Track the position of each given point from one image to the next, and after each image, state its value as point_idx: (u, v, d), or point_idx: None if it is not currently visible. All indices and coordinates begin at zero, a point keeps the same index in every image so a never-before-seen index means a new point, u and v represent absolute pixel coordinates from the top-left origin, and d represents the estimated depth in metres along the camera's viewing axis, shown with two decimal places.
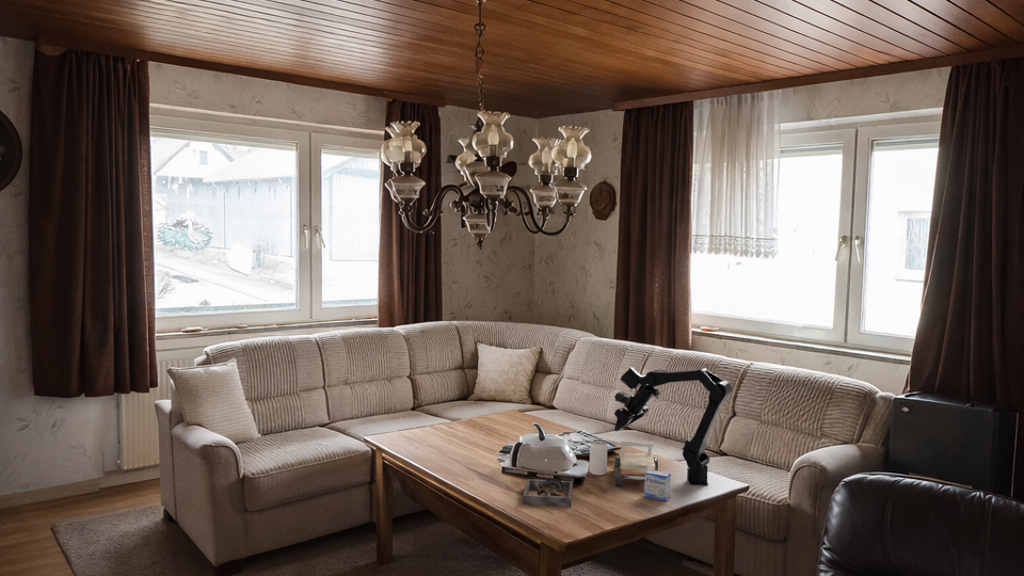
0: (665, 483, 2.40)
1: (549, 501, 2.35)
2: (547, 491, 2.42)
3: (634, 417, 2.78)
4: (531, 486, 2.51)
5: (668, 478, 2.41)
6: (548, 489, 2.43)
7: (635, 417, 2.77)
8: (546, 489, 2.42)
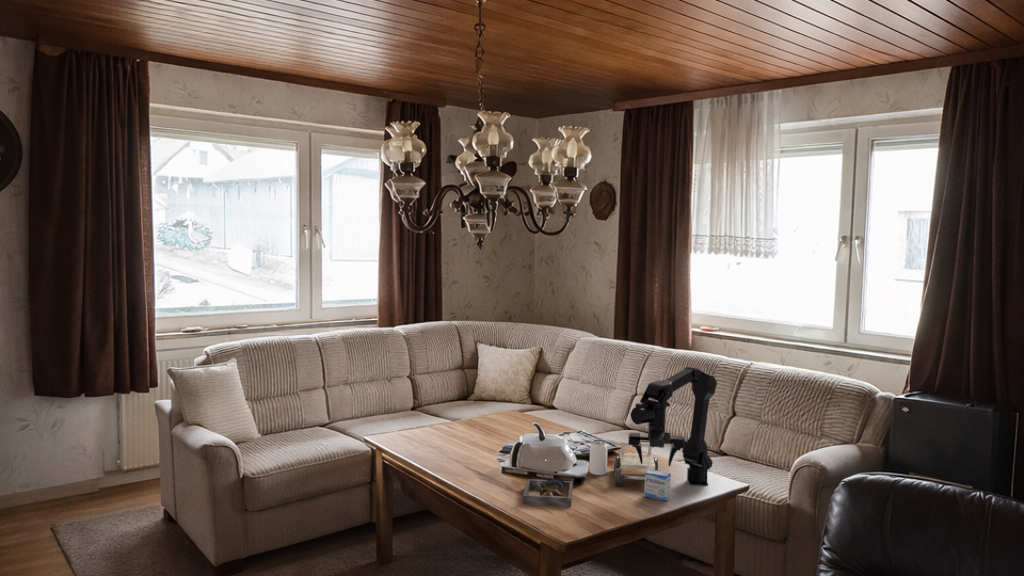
0: (665, 483, 2.40)
1: (549, 501, 2.35)
2: (549, 491, 2.43)
3: (641, 449, 2.45)
4: (531, 486, 2.51)
5: (668, 478, 2.41)
6: (550, 489, 2.43)
7: None
8: (548, 489, 2.43)
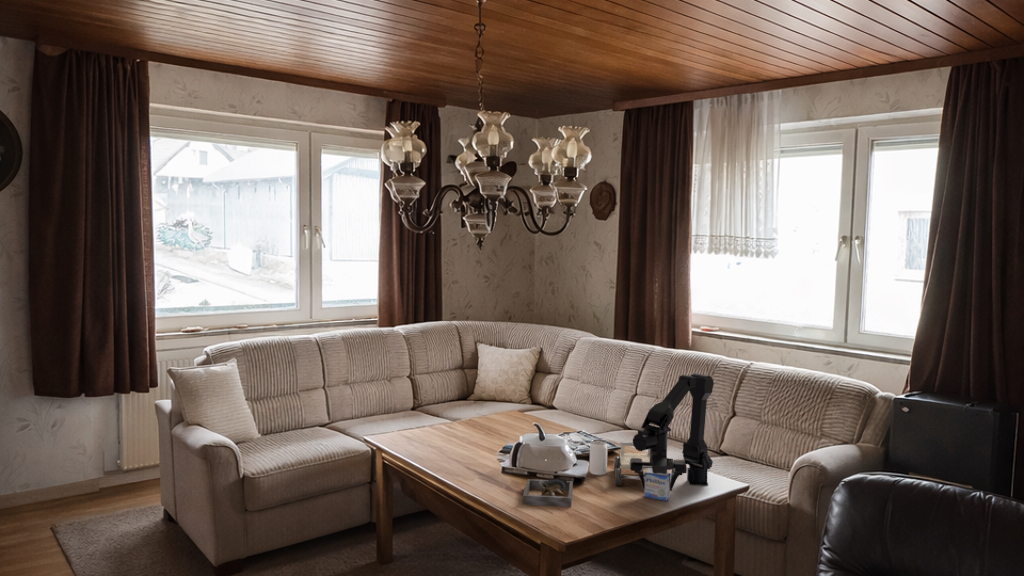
0: (665, 483, 2.40)
1: (549, 501, 2.35)
2: (551, 490, 2.43)
3: None
4: (531, 486, 2.51)
5: (668, 478, 2.41)
6: (552, 488, 2.44)
7: None
8: (550, 488, 2.43)
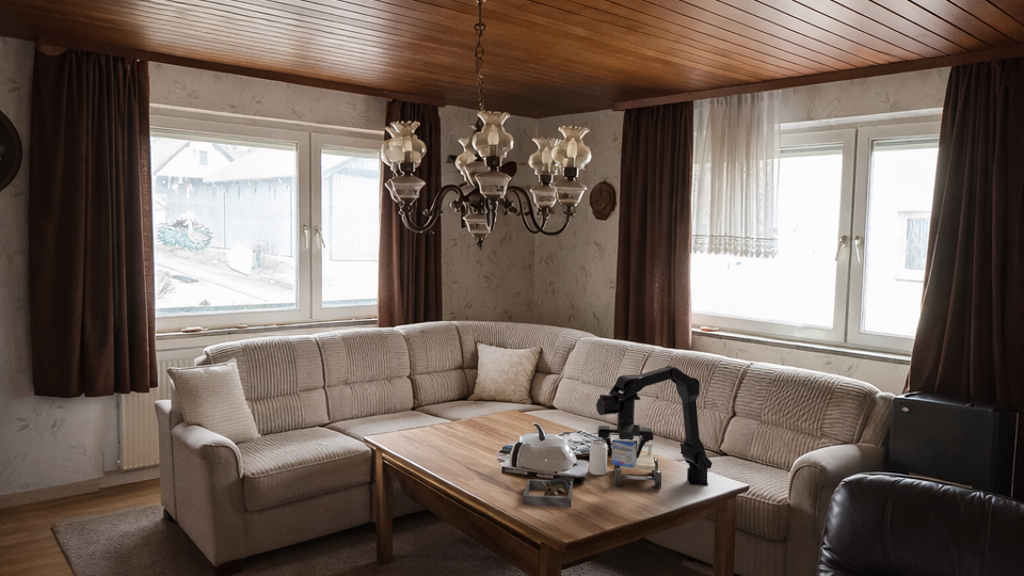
0: (632, 450, 2.42)
1: (549, 501, 2.35)
2: (554, 489, 2.44)
3: None
4: (531, 486, 2.51)
5: (635, 445, 2.44)
6: (555, 487, 2.44)
7: None
8: (553, 487, 2.44)
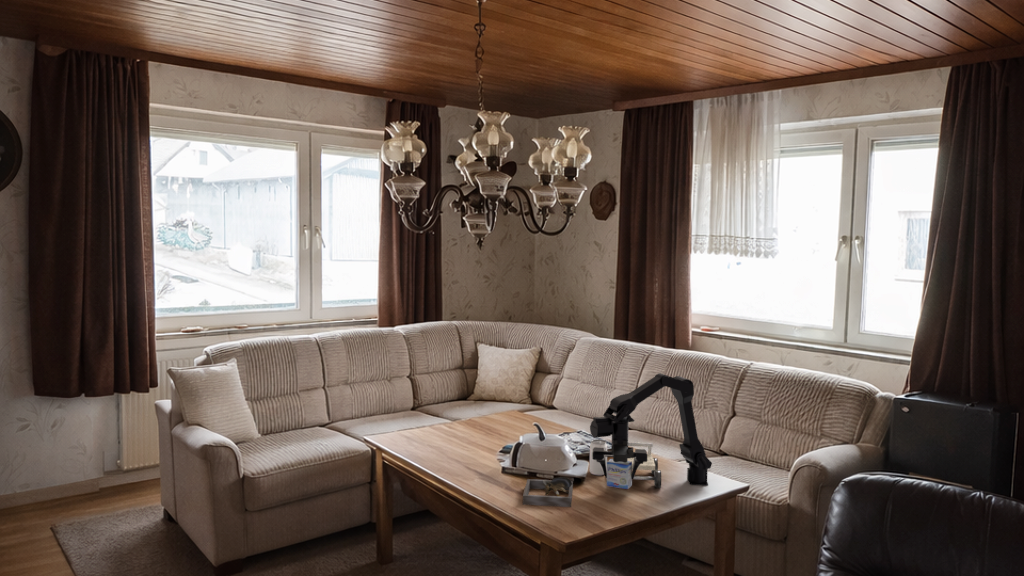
0: (626, 471, 2.44)
1: (549, 501, 2.35)
2: (555, 489, 2.44)
3: (605, 463, 2.49)
4: (531, 486, 2.51)
5: (629, 466, 2.45)
6: (556, 487, 2.45)
7: (605, 462, 2.49)
8: (554, 487, 2.45)
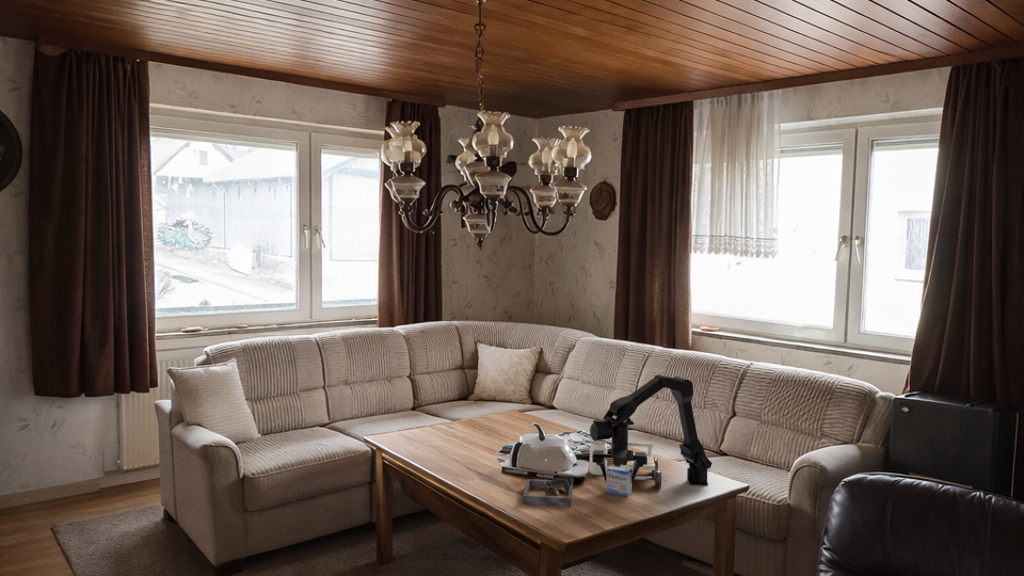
0: (626, 479, 2.44)
1: (549, 501, 2.35)
2: (555, 489, 2.45)
3: None
4: (531, 486, 2.51)
5: (629, 474, 2.45)
6: (556, 487, 2.45)
7: None
8: (554, 487, 2.45)
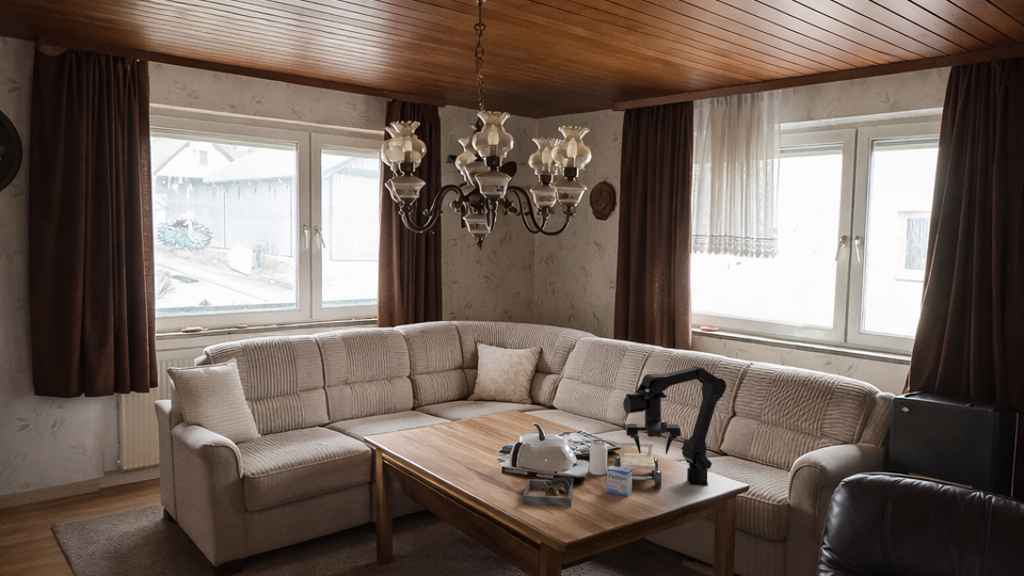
0: (627, 479, 2.44)
1: (549, 501, 2.35)
2: (555, 488, 2.45)
3: None
4: (531, 486, 2.51)
5: (630, 474, 2.45)
6: (556, 486, 2.45)
7: None
8: (554, 486, 2.45)
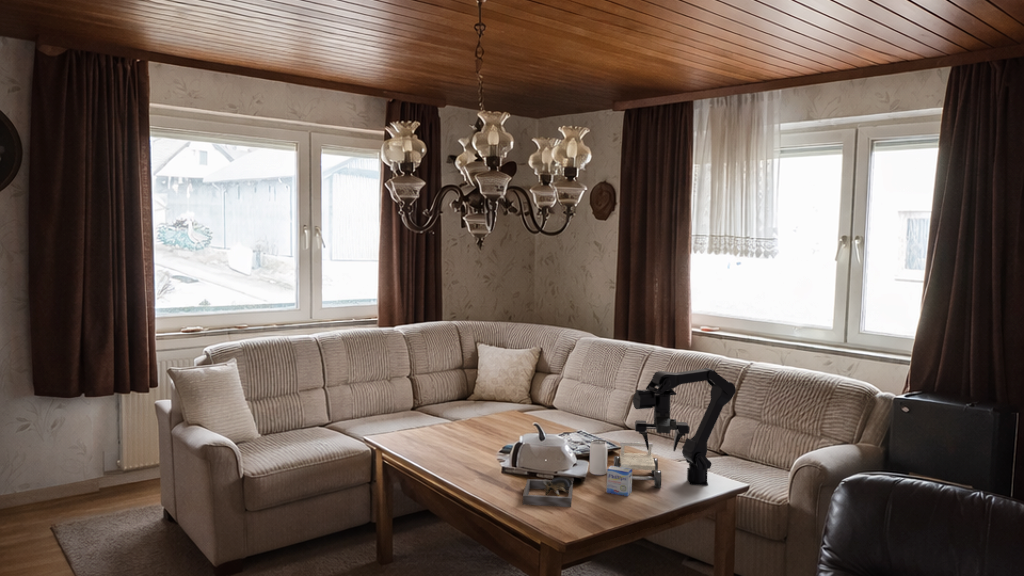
0: (627, 479, 2.44)
1: (549, 501, 2.35)
2: (555, 488, 2.45)
3: None
4: (531, 486, 2.51)
5: (630, 474, 2.45)
6: (556, 486, 2.45)
7: None
8: (554, 486, 2.45)
